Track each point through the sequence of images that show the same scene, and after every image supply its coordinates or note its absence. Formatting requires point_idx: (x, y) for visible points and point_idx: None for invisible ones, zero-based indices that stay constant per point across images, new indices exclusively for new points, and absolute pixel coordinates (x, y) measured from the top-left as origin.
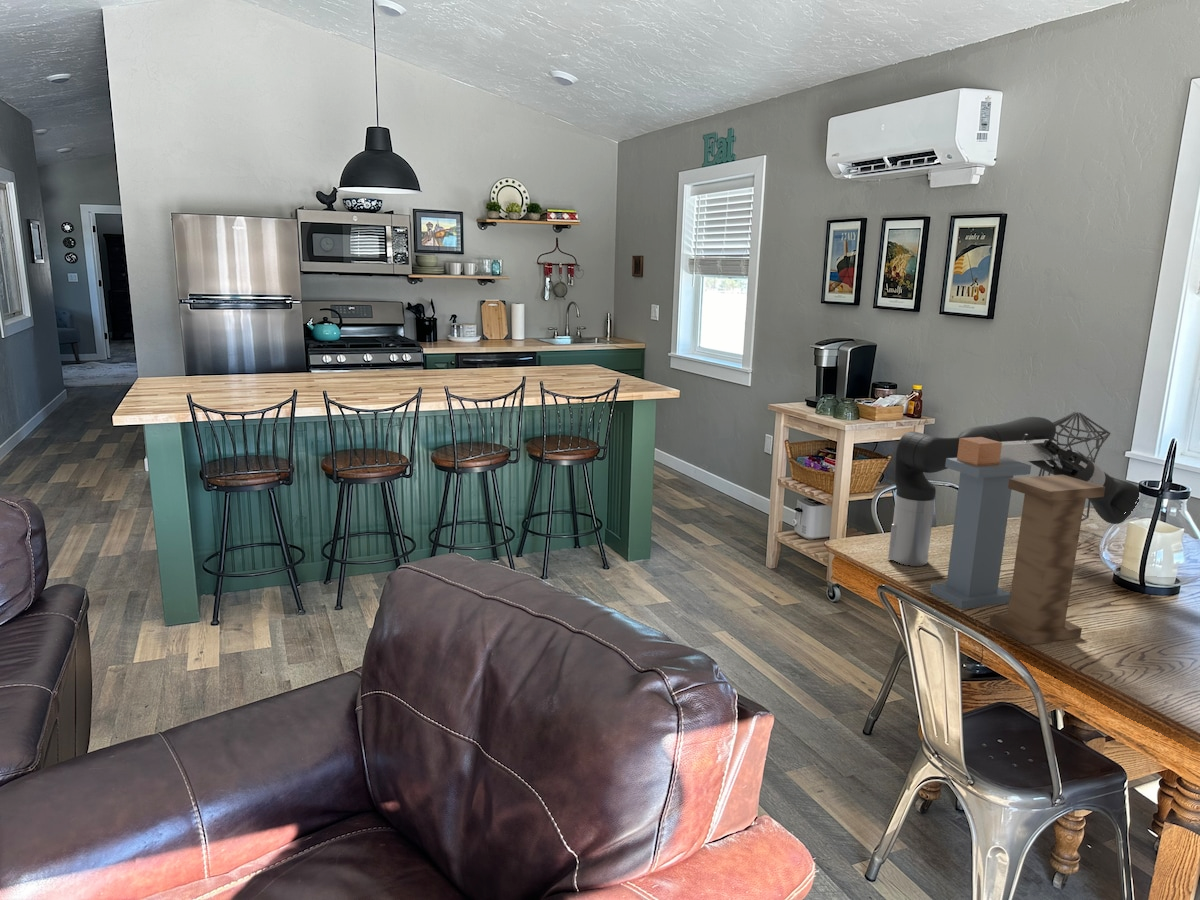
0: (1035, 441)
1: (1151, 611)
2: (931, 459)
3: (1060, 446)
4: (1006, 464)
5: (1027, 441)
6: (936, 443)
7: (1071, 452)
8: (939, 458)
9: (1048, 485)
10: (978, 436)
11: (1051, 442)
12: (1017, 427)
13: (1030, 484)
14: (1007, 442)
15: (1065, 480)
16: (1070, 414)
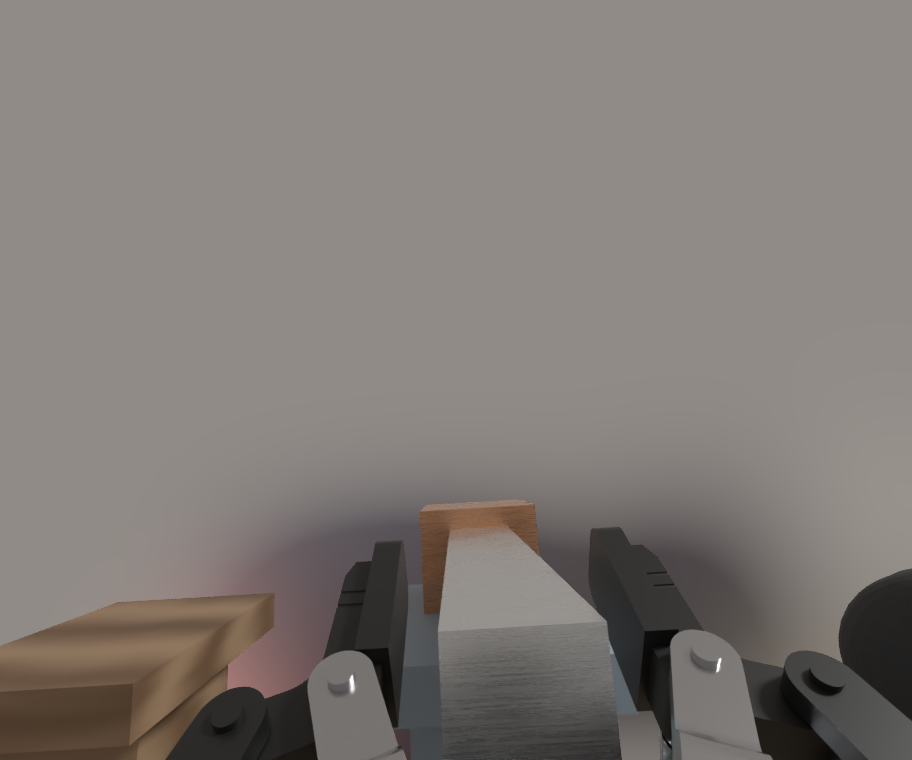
0: (498, 574)
1: None
2: (857, 670)
3: (337, 652)
4: (422, 626)
5: (509, 563)
6: (887, 597)
7: (196, 735)
8: (909, 692)
9: (140, 614)
10: None
11: (355, 565)
12: None
13: (194, 600)
14: (497, 539)
15: (93, 654)
16: None
